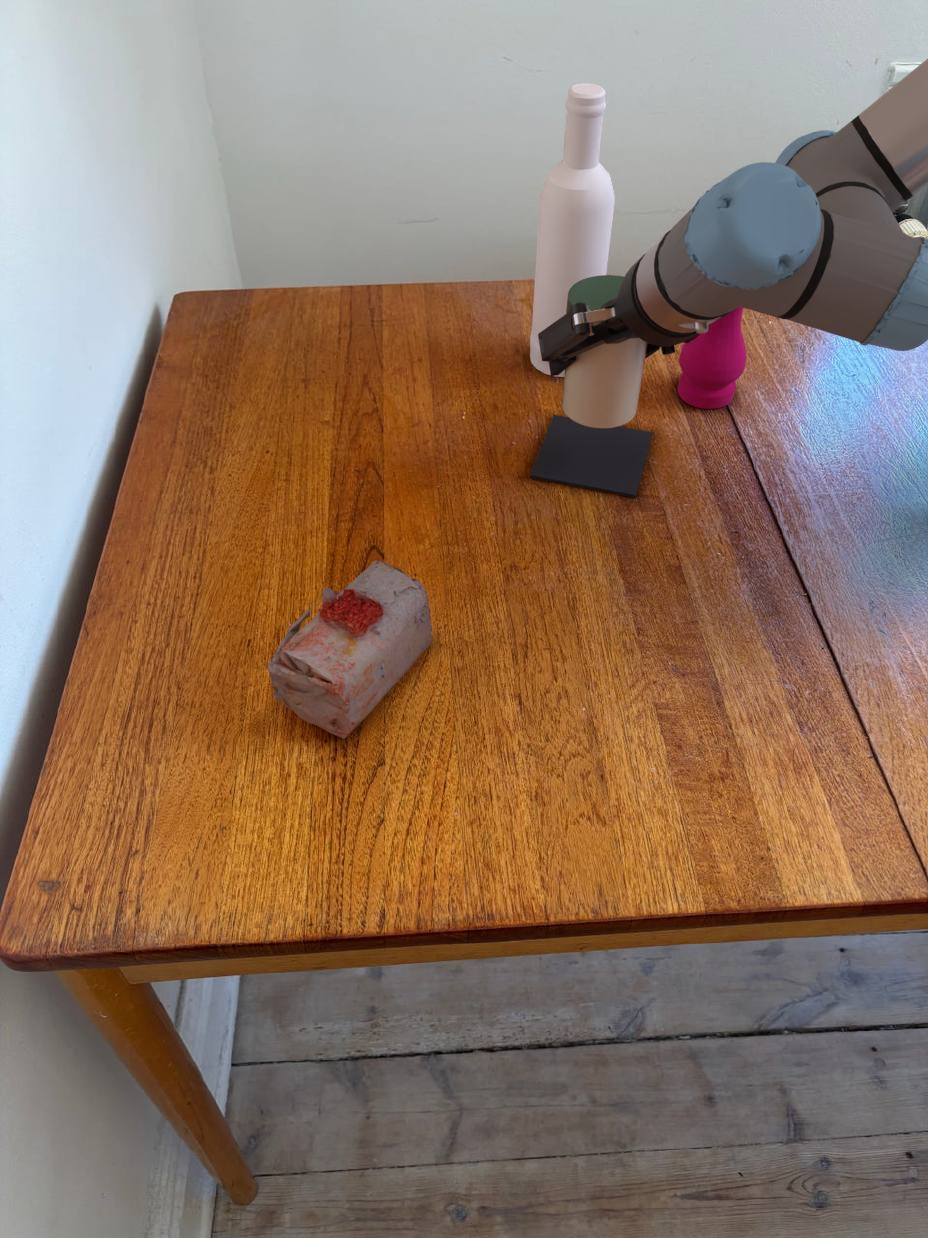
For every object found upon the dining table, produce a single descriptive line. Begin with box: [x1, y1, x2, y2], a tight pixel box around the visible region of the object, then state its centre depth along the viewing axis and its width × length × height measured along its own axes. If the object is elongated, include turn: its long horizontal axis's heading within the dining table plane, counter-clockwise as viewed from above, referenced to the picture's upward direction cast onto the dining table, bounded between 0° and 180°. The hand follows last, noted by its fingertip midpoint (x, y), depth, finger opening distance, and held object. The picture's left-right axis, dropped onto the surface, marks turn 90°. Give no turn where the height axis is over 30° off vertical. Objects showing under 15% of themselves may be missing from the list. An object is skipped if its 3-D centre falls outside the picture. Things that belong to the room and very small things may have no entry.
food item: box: [267, 560, 434, 740], centre depth 82 cm, size 14×8×10 cm, turn 147°
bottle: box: [529, 82, 616, 378], centre depth 108 cm, size 8×8×30 cm
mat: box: [529, 414, 654, 499], centre depth 106 cm, size 11×11×1 cm
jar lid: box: [566, 274, 625, 333], centre depth 94 cm, size 8×8×2 cm
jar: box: [561, 338, 648, 428], centre depth 98 cm, size 8×8×12 cm
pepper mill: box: [677, 307, 747, 410], centre depth 107 cm, size 7×7×20 cm
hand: (591, 356), depth 102 cm, fingers closed on jar, 8 cm apart
